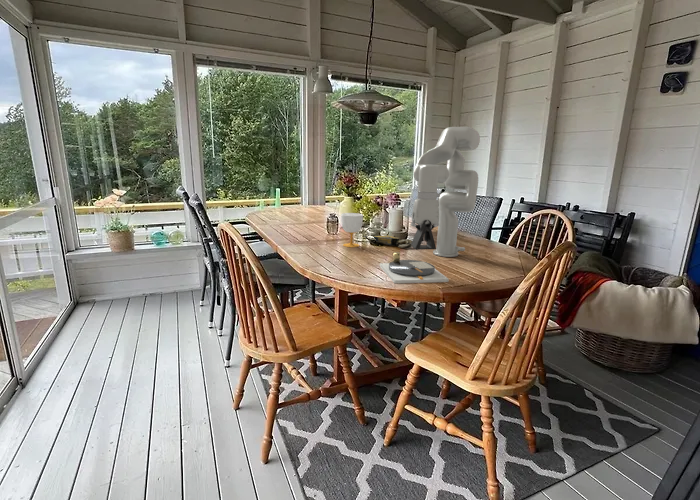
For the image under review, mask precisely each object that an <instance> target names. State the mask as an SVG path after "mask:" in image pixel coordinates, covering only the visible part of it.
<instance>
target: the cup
mask: <svg viewBox="0 0 700 500" xmlns="http://www.w3.org/2000/svg"><path fill="white" fill-rule="evenodd" d="M340 216H341V218H340V219H341V220H340V221H341V227H342V229H343V231H344V232H346V233H348V234H349V235H350V242H349V243H343V245H342V246H343V247H345V248H346V247H347V248H359V247H360V244H358V243H353V235H354V234H357V233H359V232H360V231H361V228H362V226H363V220H364V214H362V213H358V212H357V213H356V212H343V213H341V215H340Z"/></svg>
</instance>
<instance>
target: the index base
mask: <svg viewBox="0 0 700 500" xmlns="http://www.w3.org/2000/svg"><path fill="white" fill-rule="evenodd" d="M389 263H390V262H389ZM389 263H381V262H380V263H379V267H380V269H381V270H382V271H383V272H384V273H385V274H386V275H387V277H388V278H389V279H390V280H391V281H392V282H393V284H415V283H416V284H418V283H419V284H420V283H422V284H423V283H425V284H426V283H449V281H450V279H449V278H448V277H447V276H446V275H444V274H443V273H441V272H440V271H439V270H437V269H436V268H435V271H434V273H433V274H431V275H427V276H406V275H401V274H397V273H394V272H392V271H390V270H389Z"/></svg>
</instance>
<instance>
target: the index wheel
mask: <svg viewBox="0 0 700 500" xmlns="http://www.w3.org/2000/svg"><path fill="white" fill-rule="evenodd" d="M392 258H393V260H392V261H391V262H389V270H390V271H392V272H394V273H397V274H401V275H406V276H427V275H431V274H433V273H434V271H435V269H436V267H435V265H433V264H432V263H430V262H427V261H422V260H415V259H414V260H413V259H401V252H399V251H395V252H393V257H392Z"/></svg>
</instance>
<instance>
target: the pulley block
mask: <svg viewBox="0 0 700 500" xmlns="http://www.w3.org/2000/svg"><path fill="white" fill-rule="evenodd" d="M386 235H387V236H373V237H374V238H375V239H376V240H375V241H376V243H380V244H384V245H387V246H393V247H398V248H401V249H409V248H412V246H411V243H412V241H413V239H412V240H411V239H408V238H404V239H400V237H396V235H394V236H392V235H388V234H386ZM363 237H364V238H365V239H366V240H368V239H367V237H368V235H367V236H366V235H363ZM375 241H374V242H375Z"/></svg>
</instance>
